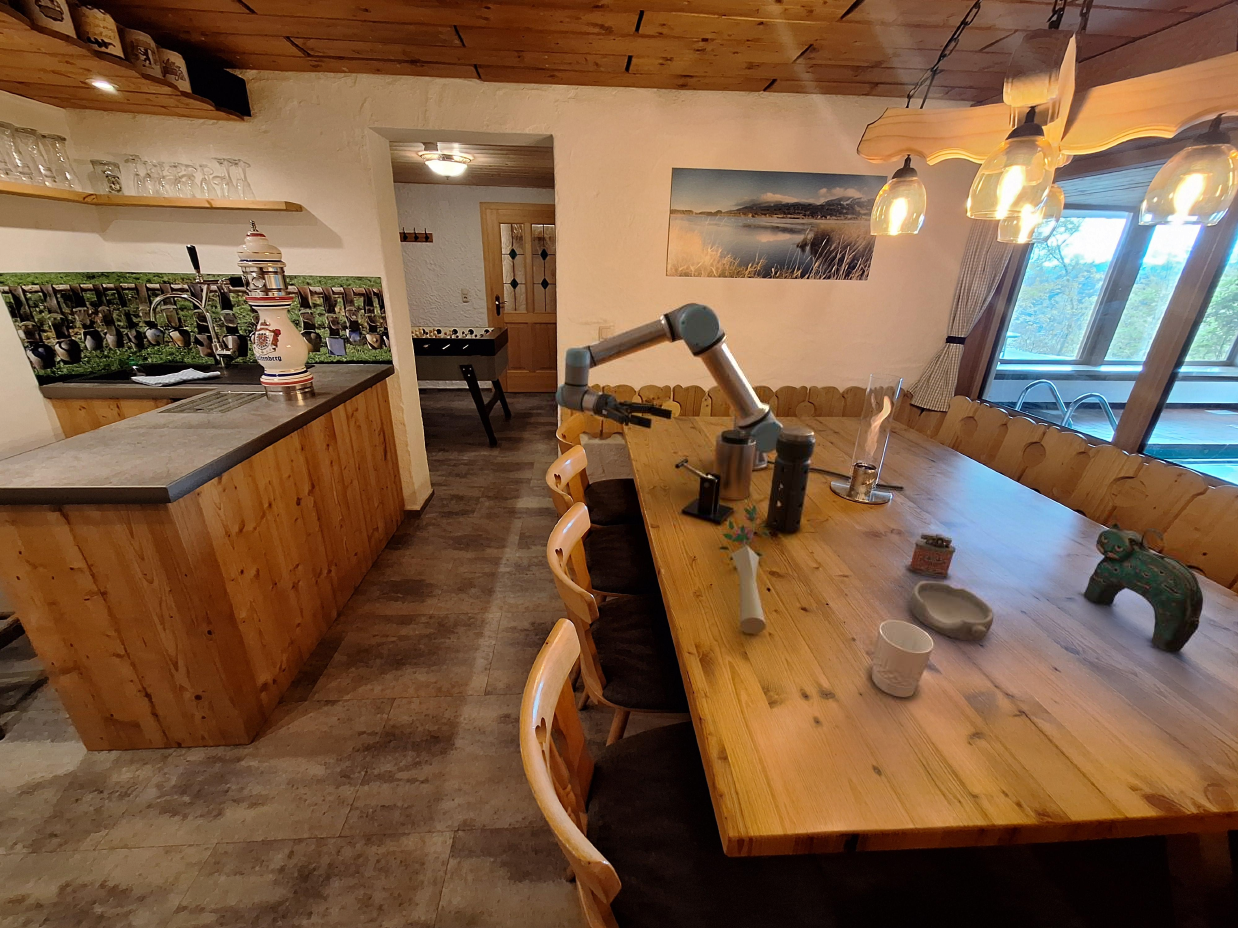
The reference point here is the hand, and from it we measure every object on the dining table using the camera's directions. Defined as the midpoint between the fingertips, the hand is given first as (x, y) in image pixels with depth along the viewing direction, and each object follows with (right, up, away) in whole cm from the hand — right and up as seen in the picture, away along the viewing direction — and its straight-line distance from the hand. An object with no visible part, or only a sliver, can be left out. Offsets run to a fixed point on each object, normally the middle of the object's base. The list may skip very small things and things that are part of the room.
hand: (661, 419), depth 143 cm
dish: (+55, -45, -43) cm, 83 cm away
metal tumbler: (+23, -22, +14) cm, 35 cm away
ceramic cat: (+93, -46, -42) cm, 112 cm away
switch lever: (+10, -17, -1) cm, 19 cm away
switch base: (+14, -27, 0) cm, 31 cm away
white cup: (+35, -51, -59) cm, 85 cm away
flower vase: (+16, -41, -33) cm, 55 cm away
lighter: (+61, -39, -27) cm, 77 cm away
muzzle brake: (+33, -31, -7) cm, 46 cm away
